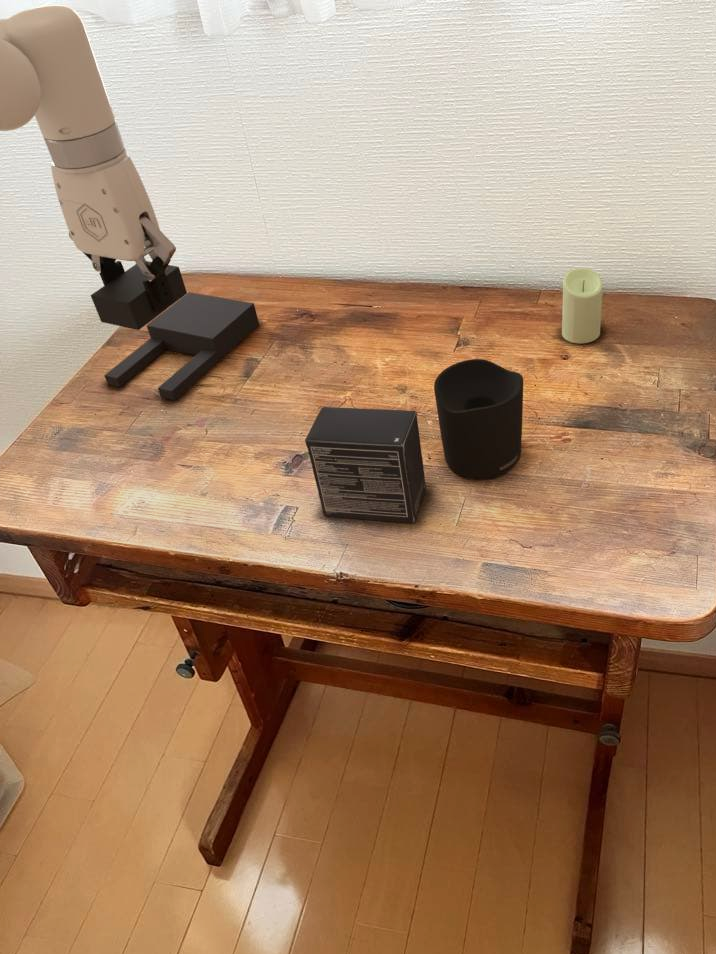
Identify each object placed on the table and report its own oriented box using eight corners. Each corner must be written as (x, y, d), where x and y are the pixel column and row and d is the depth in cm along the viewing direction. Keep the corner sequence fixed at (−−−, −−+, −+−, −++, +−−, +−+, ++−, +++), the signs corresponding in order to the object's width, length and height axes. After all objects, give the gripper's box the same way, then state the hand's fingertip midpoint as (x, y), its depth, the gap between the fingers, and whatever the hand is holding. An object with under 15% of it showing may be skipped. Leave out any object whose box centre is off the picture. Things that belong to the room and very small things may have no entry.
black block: (138, 330, 96) (128, 303, 94) (101, 322, 99) (90, 295, 96) (187, 293, 102) (178, 266, 99) (150, 286, 104) (141, 260, 102)
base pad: (174, 400, 110) (166, 378, 108) (107, 384, 115) (98, 362, 112) (259, 324, 122) (254, 303, 120) (195, 312, 127) (189, 291, 124)
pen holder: (446, 488, 92) (439, 415, 85) (437, 437, 98) (429, 365, 91) (531, 477, 91) (531, 402, 84) (516, 426, 98) (514, 353, 91)
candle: (605, 339, 109) (609, 281, 103) (569, 347, 109) (571, 289, 103) (591, 321, 113) (594, 264, 107) (556, 328, 112) (557, 272, 107)
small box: (428, 484, 92) (419, 407, 85) (415, 525, 88) (405, 447, 81) (338, 478, 95) (321, 402, 88) (321, 517, 90) (302, 441, 83)
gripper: (3, 153, 89) (69, 306, 101) (122, 167, 81) (177, 329, 94) (54, 128, 93) (111, 277, 106) (171, 138, 86) (217, 297, 98)
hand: (142, 300), depth 100 cm, fingers closed on black block, 6 cm apart
